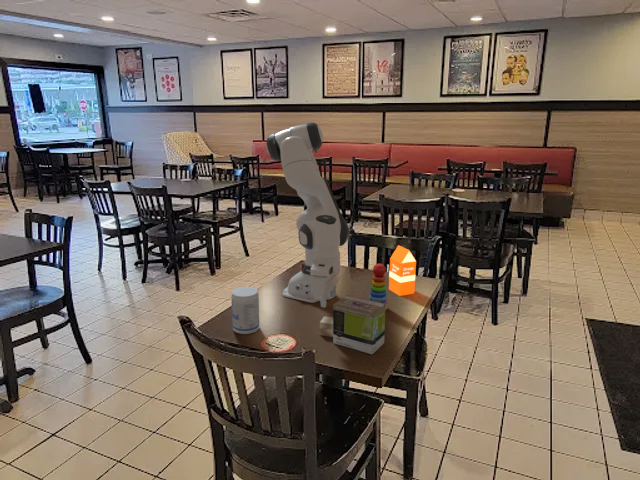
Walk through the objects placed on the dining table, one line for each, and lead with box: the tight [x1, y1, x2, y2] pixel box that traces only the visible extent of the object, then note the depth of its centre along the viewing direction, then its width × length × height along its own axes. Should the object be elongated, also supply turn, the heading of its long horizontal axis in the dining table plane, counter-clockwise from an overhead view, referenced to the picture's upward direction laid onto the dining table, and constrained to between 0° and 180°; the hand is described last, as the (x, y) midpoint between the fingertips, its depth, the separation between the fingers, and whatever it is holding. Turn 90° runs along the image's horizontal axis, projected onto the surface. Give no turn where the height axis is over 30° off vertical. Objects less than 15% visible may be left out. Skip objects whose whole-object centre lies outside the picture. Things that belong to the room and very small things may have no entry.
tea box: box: [332, 294, 386, 355], centre depth 153 cm, size 15×10×15 cm, turn 58°
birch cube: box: [319, 315, 333, 338], centre depth 161 cm, size 5×5×5 cm
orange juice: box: [388, 244, 417, 297], centre depth 197 cm, size 8×9×20 cm
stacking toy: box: [368, 263, 388, 311], centre depth 179 cm, size 8×8×19 cm
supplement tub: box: [230, 286, 260, 335], centre depth 163 cm, size 10×10×15 cm
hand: (328, 301), depth 158 cm, fingers open, 8 cm apart
